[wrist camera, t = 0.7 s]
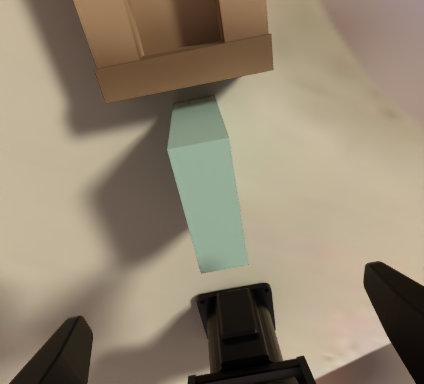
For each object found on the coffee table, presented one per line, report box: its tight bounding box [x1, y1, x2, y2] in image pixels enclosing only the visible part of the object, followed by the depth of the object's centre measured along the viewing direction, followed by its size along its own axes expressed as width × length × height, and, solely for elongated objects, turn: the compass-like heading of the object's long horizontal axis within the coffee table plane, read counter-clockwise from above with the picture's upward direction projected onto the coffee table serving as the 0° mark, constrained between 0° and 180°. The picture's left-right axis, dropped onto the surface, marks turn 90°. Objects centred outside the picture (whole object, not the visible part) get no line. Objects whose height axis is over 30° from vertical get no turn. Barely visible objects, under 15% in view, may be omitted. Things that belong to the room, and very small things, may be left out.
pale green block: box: [167, 96, 249, 273], centre depth 17 cm, size 7×3×7 cm, turn 10°
